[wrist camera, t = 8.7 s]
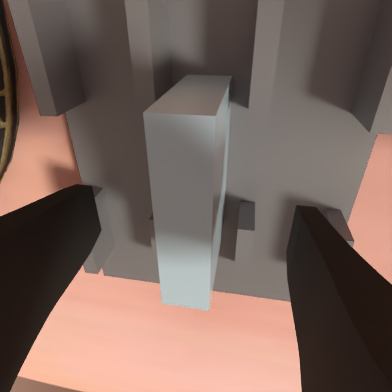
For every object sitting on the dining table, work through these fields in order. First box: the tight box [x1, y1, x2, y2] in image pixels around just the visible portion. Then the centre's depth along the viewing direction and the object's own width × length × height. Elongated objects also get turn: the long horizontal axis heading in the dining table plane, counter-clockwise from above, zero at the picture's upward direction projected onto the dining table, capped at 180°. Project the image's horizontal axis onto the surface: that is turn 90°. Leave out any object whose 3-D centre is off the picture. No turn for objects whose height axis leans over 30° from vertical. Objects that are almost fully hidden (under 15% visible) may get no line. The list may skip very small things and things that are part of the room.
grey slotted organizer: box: [7, 0, 392, 302], centre depth 14 cm, size 15×20×4 cm
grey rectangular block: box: [143, 75, 232, 311], centre depth 13 cm, size 2×8×6 cm, turn 0°
